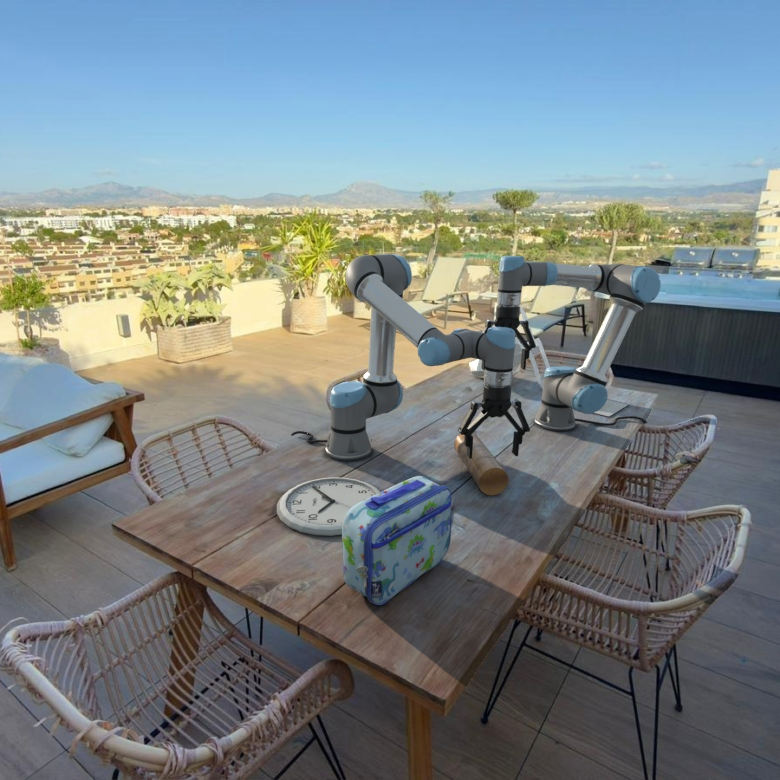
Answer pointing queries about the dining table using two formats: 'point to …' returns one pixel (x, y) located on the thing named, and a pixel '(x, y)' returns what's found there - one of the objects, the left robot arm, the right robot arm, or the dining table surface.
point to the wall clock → (322, 504)
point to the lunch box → (395, 537)
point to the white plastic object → (517, 356)
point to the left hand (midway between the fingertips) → (492, 455)
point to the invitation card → (610, 408)
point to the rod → (482, 466)
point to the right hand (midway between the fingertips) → (503, 369)
